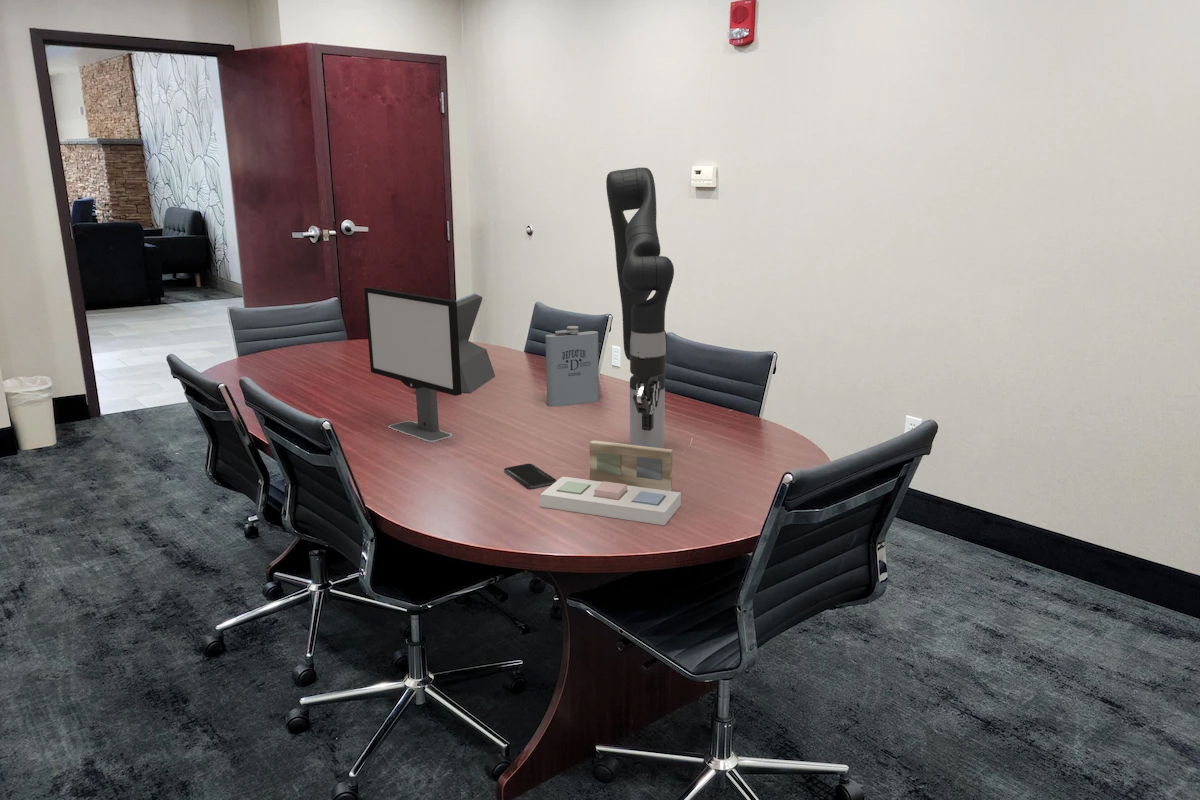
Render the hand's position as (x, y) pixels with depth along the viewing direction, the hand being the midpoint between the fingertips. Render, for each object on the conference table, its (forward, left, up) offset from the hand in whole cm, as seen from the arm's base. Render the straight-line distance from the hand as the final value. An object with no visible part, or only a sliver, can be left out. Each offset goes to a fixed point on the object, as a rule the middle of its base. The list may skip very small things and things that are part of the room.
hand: (647, 429), depth 184 cm
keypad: (+2, -8, -18) cm, 20 cm away
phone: (-8, -33, -19) cm, 39 cm away
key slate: (+2, +1, -18) cm, 18 cm away
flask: (-74, -50, -18) cm, 91 cm away
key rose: (+2, -8, -16) cm, 18 cm away
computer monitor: (-30, -79, -18) cm, 86 cm away
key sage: (+2, -17, -18) cm, 24 cm away
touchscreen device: (-84, -99, -19) cm, 131 cm away
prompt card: (-11, -8, -18) cm, 23 cm away
